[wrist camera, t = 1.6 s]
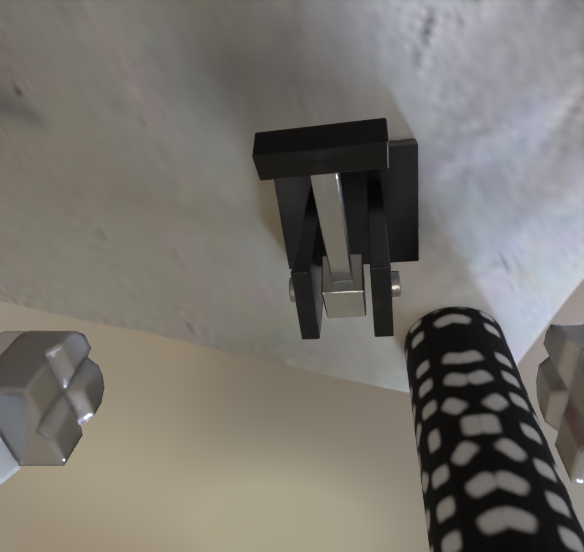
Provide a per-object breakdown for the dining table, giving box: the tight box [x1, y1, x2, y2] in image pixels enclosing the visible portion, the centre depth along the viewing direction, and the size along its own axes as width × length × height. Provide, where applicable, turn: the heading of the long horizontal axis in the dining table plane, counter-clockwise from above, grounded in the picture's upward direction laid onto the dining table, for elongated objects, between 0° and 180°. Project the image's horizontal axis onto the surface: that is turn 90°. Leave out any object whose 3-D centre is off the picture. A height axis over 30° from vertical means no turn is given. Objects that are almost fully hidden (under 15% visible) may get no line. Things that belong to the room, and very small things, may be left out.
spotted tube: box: [405, 307, 584, 552], centre depth 33 cm, size 8×8×20 cm
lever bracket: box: [274, 139, 419, 339], centre depth 30 cm, size 9×10×13 cm
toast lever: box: [252, 118, 389, 318], centre depth 23 cm, size 12×5×2 cm, turn 8°
